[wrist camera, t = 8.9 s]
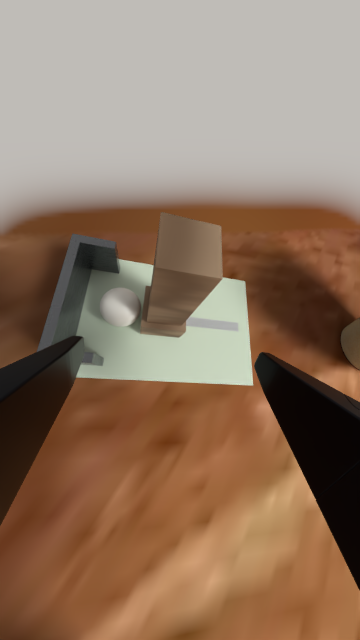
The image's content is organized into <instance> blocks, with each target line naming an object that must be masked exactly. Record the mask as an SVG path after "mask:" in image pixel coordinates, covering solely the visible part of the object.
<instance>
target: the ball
mask: <svg viewBox="0 0 360 640" xmlns="http://www.w3.org/2000/svg"><path fill="white" fill-rule="evenodd" d="M100 312H101V315H102V317H103V318H104V319H105V321H107V322H108V323H109V324H111V325H113V326H117V327H124V326H128V325H131V324H132V323H134V322H135V321H136V320H137V319H138V317H139V315H140V312H141V303H140V300H139V298H138V297H137V295H136V294H135V293H134V292H132V291H131V290H129V289H126V288H113V289H111V290H109V291H107V292H106V293H105V294H104V295H103V297H102V299H101V301H100Z"/></svg>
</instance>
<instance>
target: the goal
mask: <svg viewBox="0 0 360 640" xmlns="http://www.w3.org/2000/svg"><path fill="white" fill-rule="evenodd" d="M92 269H93V270H99V271H105V272H111V273H118V274H119V273H120V263H119V257H118V251H117V245H116V242H113V241H108V240H103V239H98V238H93V237H87V236H82V235H77V234H72V237H71V240H70V244H69V247H68V250H67V254H66V257H65V260H64V264H63V267H62V270H61V273H60V277H59V280H58V283H57V287H56V290H55V293H54V297H53V300H52V303H51V307H50V310H49V313H48V317H47V320H46V323H45V327H44V330H43V333H42V337H41V340H40V343H39V346H38V350H37V352H38V351H40V350H42V349H45V348H47V347H49V346H51V345H53V344H56V343H58V342H60V341H62V340H64V339H66V338H69V337H71V336H76V333H77V329H78V325H79V321H80V317H81V312H82V308H83V304H84V300H85V296H86V292H87V287H88V283H89V279H90V275H91V271H92ZM103 362H104V358H103V357H101V356H99V355H97V354H95V353H90V352H85V353H84V357H83V360H82V362H81V365H94V366H103Z"/></svg>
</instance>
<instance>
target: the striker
mask: <svg viewBox="0 0 360 640" xmlns="http://www.w3.org/2000/svg"><path fill="white" fill-rule="evenodd" d="M222 279H223V273H222V241H221V226H218V225H214V224H210V223H206V222H201V221H197V220H193V219H189V218H184V217H180V216H176V215H172V214H167V213H163V212H161V217H160V223H159V231H158V238H157V245H156V252H155V259H154V267H153V274H152V281H151V286H146V287H145V295H144V303H143V312H142V320H141V329H140V334H146V335H156V336H167V337H177V338H179V337H181V336H182V335H183V334H184V333H185V332H186V320H187V319H188V318H189V317H190V316H191V314H192V313H193V312H194V311H195V310H196V309H197V308H198V306H199V305H200V304H201V303H202V302H203V301H204V300H205V298H206V297H207V296H208V295H209V294H210V293H211V292H212V290H213V289H214V288H215V287H216V286H217V285H218V284H219V283H220V281H221V280H222Z"/></svg>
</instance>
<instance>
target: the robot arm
mask: <svg viewBox="0 0 360 640" xmlns="http://www.w3.org/2000/svg"><path fill="white" fill-rule="evenodd" d="M84 353H85V349H84V338H83V337H82V336H71V337H69V338H66V339H64V340H62V341H60V342H58V343H56V344H53V345H51V346H49V347H47V348H45V349H42V350H40V351H38V352H36V353H34V354H32V355H29V356H27V357H25V358H23V359H21V360H18V361H16V362H14V363H12V364H10V365H8V366H5V367H3V368H1V369H0V525H1V524H2V522H3V520H4V518H5V516H6V514H7V512H8V510H9V508H10V506H11V504H12V502H13V500H14V498H15V497H16V495H17V493H18V491H19V489H20V487H21V485H22V483H23V481H24V479H25V477H26V475H27V473H28V471H29V470H30V468H31V466H32V464H33V462H34V460H35V458H36V456H37V454H38V452H39V450H40V448H41V446H42V444H43V443H44V441H45V439H46V437H47V435H48V433H49V431H50V429H51V427H52V425H53V423H54V421H55V419H56V417H57V415H58V414H59V412H60V410H61V408H62V406H63V404H64V402H65V400H66V398H67V396H68V394H69V392H70V390H71V388H72V386H73V384H74V381H75V379H76V376H77V373H78V371H79V368H80V365H81V362H82V360H83V357H84ZM254 367H255V370H256V373H257V376H258V378H259V381H260V384H261V386H262V389H263V392H264V394H265V396H266V398H267V400H268V402H269V404H270V407H271V409H272V411H273V413H274V415H275V417H276V419H277V421H278V423H279V425H280V427H281V429H282V431H283V433H284V435H285V437H286V439H287V442H288V444H289V446H290V448H291V450H292V452H293V454H294V456H295V458H296V460H297V462H298V464H299V466H300V468H301V470H302V472H303V475H304V477H305V479H306V481H307V483H308V485H309V487H310V489H311V491H312V493H313V495H314V497H315V499H316V502H317V504H318V506H319V508H320V510H321V512H322V514H323V516H324V518H325V520H326V522H327V524H328V526H329V529H330V531H331V533H332V535H333V537H334V539H335V541H336V543H337V545H338V547H339V549H340V551H341V553H342V555H343V557H344V559H345V562H346V564H347V566H348V568H349V570H350V572H351V574H352V576H353V578H354V580H355V582H356V584H357V586H358V588H359V590H360V402H358V401H356V400H354V399H353V398H351V397H349V396H347V395H345V394H343V393H341V392H340V391H338V390H336V389H334V388H332V387H330V386H329V385H327V384H325V383H323V382H321V381H319V380H318V379H316V378H314V377H312V376H310V375H308V374H307V373H305V372H303V371H301V370H299V369H297V368H296V367H294V366H292V365H290V364H288V363H286V362H284V361H283V360H281V359H279V358H277V357H275V356H273V355H272V354H270V353H265V352H261V353H260V354H259V356H258V358H257V360H256V362H255V365H254Z"/></svg>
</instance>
